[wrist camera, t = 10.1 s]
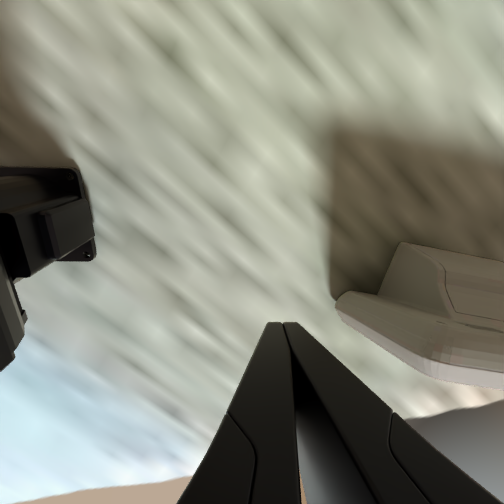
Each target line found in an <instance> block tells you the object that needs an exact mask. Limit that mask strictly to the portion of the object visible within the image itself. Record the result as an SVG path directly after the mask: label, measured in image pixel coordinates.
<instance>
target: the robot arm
mask: <svg viewBox="0 0 504 504" xmlns="http://www.w3.org/2000/svg"><path fill="white" fill-rule="evenodd" d="M69 173H72V174H73V176H74V179H71V178H70V176H69ZM94 236H95V233H94V228H93V223H92V218H91V213H90V208H89V203H88V201H87V200H86V198H85V193H84V188H83V183H82V178H81V175H80V172H79V171H78V170H76V169H75V168H60V167H11V166H0V372H1V371H2V370H4V369H5V368H6V367H7V366H8V365H9V364H10V363H11V362H12V361H13V360H14V359H15V354H14V351H15V349H16V348H17V347H18V345H19V343H20V342H21V340H22V338H23V337H24V335H25V334H24V324H25V323H26V321H27V319H28V318H27V315H26V312H25V310H22V307H21V304H20V301H19V298H18V295H17V292H16V289H15V286H14V284H15V283H16V282H18V281H20V280H21V279H23V278H27V277H30V276H32V275H33V274H35V273H37V272H38V271H40V270H41V269H43V268H44V267H46V266H48V265H49V264H51V263H52V262H54V261H87V262H88V261H91V260H93V259H94V258H95V257H96V249H95V244H94V239H93V237H94ZM86 252H88V253H89V254H90V256H88V255H87V254H86ZM392 413H393V410H392V409H391V408H390V407H389V406H388V405H387V404H386V403H385V402H384V401H382V400H381V399H380V398H379V397H378V396H377V395H376V394H375V393H374V392H373V391H372V390H370V389H369V388H368V387H367V386H366V385H365V384H364V383H363V382H362V381H361V380H360V379H359V378H357V377H356V376H355V375H354V374H353V373H352V372H351V371H350V370H349V369H348V368H347V367H345V366H344V365H343V364H342V363H341V362H340V361H339V360H338V359H337V358H336V357H335V356H333V355H332V354H331V353H330V352H329V351H328V350H327V349H326V348H325V347H324V346H323V345H322V344H320V343H319V342H318V341H317V340H316V339H315V338H314V337H313V336H312V335H311V334H310V333H308V332H307V331H306V330H305V329H304V328H303V327H302V326H301V325H300V324H299V323H297V322H284V323H283V324H282V323H281V322H268V323H267V324H266V326H265V329H264V331H263V333H262V335H261V337H260V339H259V342H258V344H257V346H256V348H255V350H254V353H253V355H252V357H251V359H250V361H249V364H248V366H247V368H246V370H245V372H244V374H243V377H242V379H241V381H240V383H239V385H238V388H237V390H236V392H235V394H234V396H233V399H232V401H231V403H230V405H229V407H228V409H227V412H226V415H225V416H224V418H223V420H222V422H221V424H220V426H219V429H218V431H217V433H216V435H215V437H214V439H213V441H212V443H211V445H210V447H209V449H208V451H207V453H206V455H205V456H204V458H203V460H202V462H201V463H200V465H199V467H198V468H197V470H196V472H195V474H194V475H193V477H192V479H191V481H190V482H189V484H188V486H187V487H186V489H185V490H184V492H183V494H182V495H181V497H180V498H179V500H178V502H177V504H302V503H301V489H300V475H299V469H300V474H301V478H302V483H303V487H304V492H305V496H306V501H307V504H504V503H502V502H501V501H500V500H499V499H497V498H496V497H495V496H494V495H492V494H491V493H490V492H489V491H487V490H486V489H485V488H484V487H482V486H481V485H480V484H479V483H477V482H476V481H475V480H473V479H472V478H471V477H470V476H469V475H467V474H466V473H465V472H464V471H462V470H461V469H460V468H459V467H458V466H456V465H455V464H454V463H453V462H451V461H450V460H449V459H448V458H447V457H446V456H444V455H443V454H442V453H441V452H439V451H438V450H437V449H436V448H435V447H434V446H432V445H431V444H430V443H429V442H428V441H427V440H426V439H424V438H423V437H422V436H421V435H420V434H419V433H418V432H417V431H416V430H414V429H413V428H412V427H411V426H410V425H409V424H407V423H406V421H404V420H403V419H402V418H401V417H400V416H399V415H398V414H397V413H395V412H394V413H393V414H392Z"/></svg>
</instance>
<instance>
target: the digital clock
mask: <svg viewBox="0 0 504 504" xmlns="http://www.w3.org/2000/svg"><path fill="white" fill-rule="evenodd" d="M335 309H336V311H337V312H338V314H339V316H340V318H341V319H342V321H343V322H344V323H346V324H347V325H349V326H350V327H352V328H353V329H355V330H356V331H358V332H359V333H361V334H362V335H364V336H365V337H367V338H368V339H370V340H371V341H373V342H374V343H376V344H377V345H379V346H380V347H382V348H383V349H385V350H386V351H388V352H389V353H391V354H392V355H394V356H396V357H397V358H399V359H400V360H402V361H403V362H405V363H406V364H408V365H409V366H411V367H413V368H414V369H416V370H417V371H419V372H421V373H423V374H424V375H426V376H429V377H431V378H434V379H437V380H441V381H445V382H451V383H457V384H463V385H469V386H476V387H482V388H489V389H496V390H503V391H504V262H502V261H496V260H491V259H486V258H481V257H476V256H471V255H466V254H461V253H456V252H451V251H446V250H441V249H436V248H431V247H426V246H421V245H416V244H411V243H406V242H400V243H399V245H398V247H397V249H396V252H395V254H394V256H393V259H392V261H391V263H390V266H389V268H388V270H387V273H386V275H385V277H384V280H383V282H382V284H381V287H380V289H379V291H378V294H377V295H374V294H368V293H362V292H356V291H347V292H345V293H344V294H343V295H341V296H340V297H339V298H338V300H337V301H336V304H335ZM456 322H458V323H456ZM461 323H463V324H461Z"/></svg>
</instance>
